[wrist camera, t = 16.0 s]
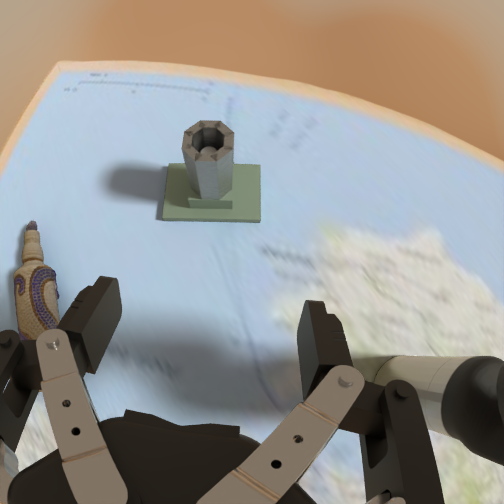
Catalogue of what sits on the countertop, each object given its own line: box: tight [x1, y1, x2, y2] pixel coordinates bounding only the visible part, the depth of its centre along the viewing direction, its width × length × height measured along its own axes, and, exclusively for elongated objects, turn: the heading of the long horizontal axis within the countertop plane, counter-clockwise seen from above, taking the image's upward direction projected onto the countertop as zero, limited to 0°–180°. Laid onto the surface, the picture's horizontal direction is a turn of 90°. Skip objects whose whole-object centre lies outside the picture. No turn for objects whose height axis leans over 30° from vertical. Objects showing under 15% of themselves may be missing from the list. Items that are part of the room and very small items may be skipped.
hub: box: [182, 120, 234, 200], centre depth 39 cm, size 6×6×10 cm
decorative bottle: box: [14, 221, 60, 392], centre depth 39 cm, size 26×8×7 cm, turn 14°
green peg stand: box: [162, 146, 261, 223], centre depth 43 cm, size 14×9×11 cm, turn 90°
